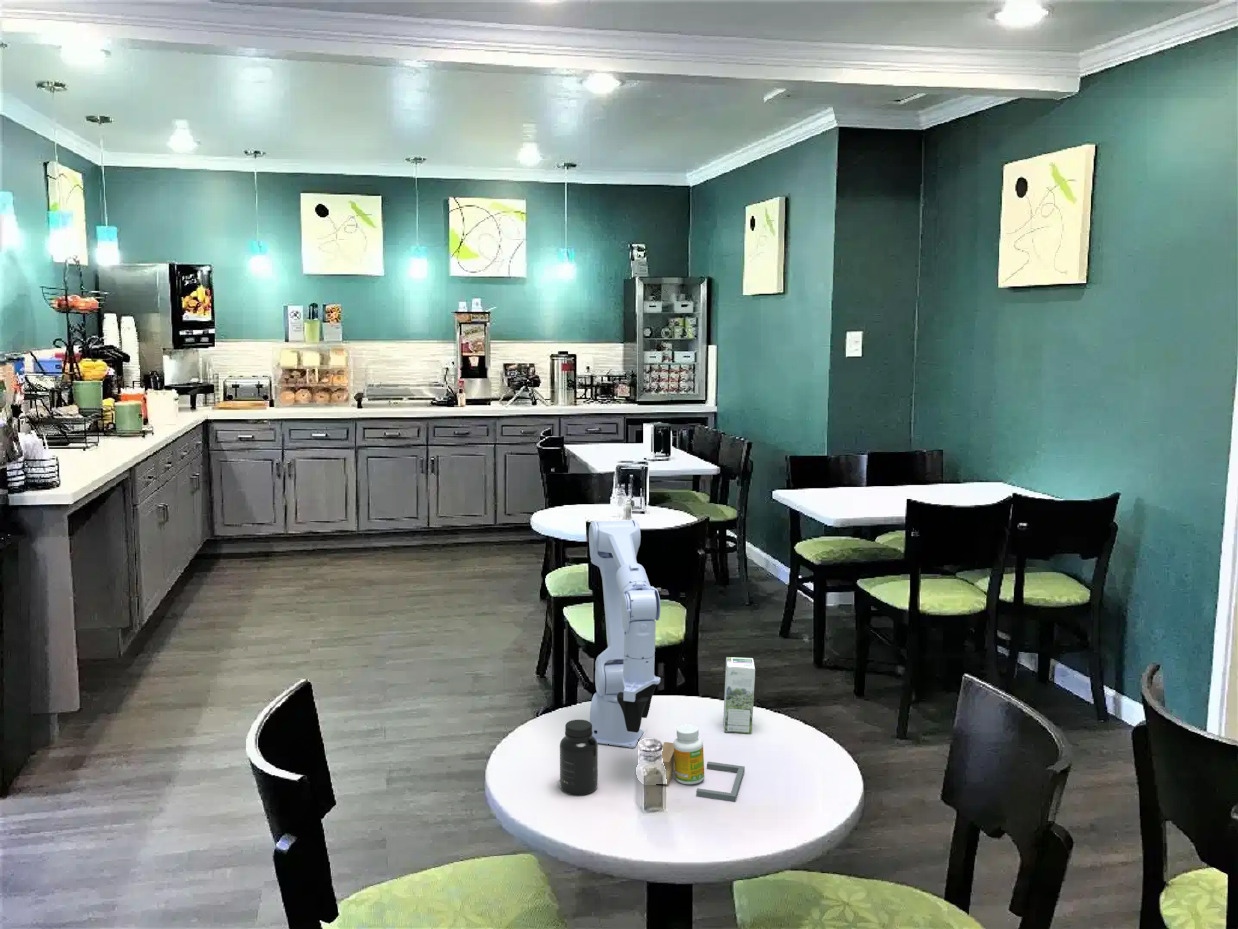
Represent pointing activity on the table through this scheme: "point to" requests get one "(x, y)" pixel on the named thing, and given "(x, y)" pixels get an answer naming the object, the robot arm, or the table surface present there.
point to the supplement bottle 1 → (578, 759)
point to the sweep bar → (668, 760)
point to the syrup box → (739, 695)
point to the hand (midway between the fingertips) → (637, 724)
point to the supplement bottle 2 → (688, 755)
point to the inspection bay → (736, 785)
